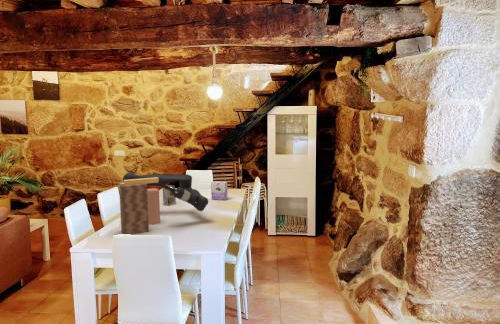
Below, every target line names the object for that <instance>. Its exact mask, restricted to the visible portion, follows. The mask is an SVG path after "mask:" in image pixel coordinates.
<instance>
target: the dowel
mask: <svg viewBox="0 0 500 324" xmlns="http://www.w3.org/2000/svg"><path fill="white" fill-rule="evenodd" d="M158 182H159V178H158V177H155V178H142V179H130V180H124V183H123V184H124V185H136V184H147V183H158Z"/></svg>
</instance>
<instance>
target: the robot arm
mask: <svg viewBox="0 0 500 324" xmlns="http://www.w3.org/2000/svg"><path fill="white" fill-rule="evenodd" d="M155 177H158V178H159V182H158V183H147V187H148V186H150V187H162V189H163V188H165V189H167V190H168V191H170V192H171V193H174V197H176V199H178V200H180V201H182V202H185V203H188V204H190V205H191V206H193V208H194V209H196V210H197V211H200V212H203V211H204V210H205V209H206V207H207V205H208V204H209V198H208V197H206V196H203V195H202V194H201V193H200V192H199V190H197V189H196V188H195V189H194V188H193V187H192V183H193V176H192V175H190V174H161V173H159V174H158V173H151V174H144V175H143V174H142V175H141V174H140V175H139V174H135V173H134V172H132V171H130V172H129V171H128V172H126V173H125V174H124V175H123V177H122V184H124V180H130V179H142V178H155ZM172 182H179V186H178V187H175V188H174V187H172V186H170V185H171V184H170V183H172ZM168 185H169V186H168Z"/></svg>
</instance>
